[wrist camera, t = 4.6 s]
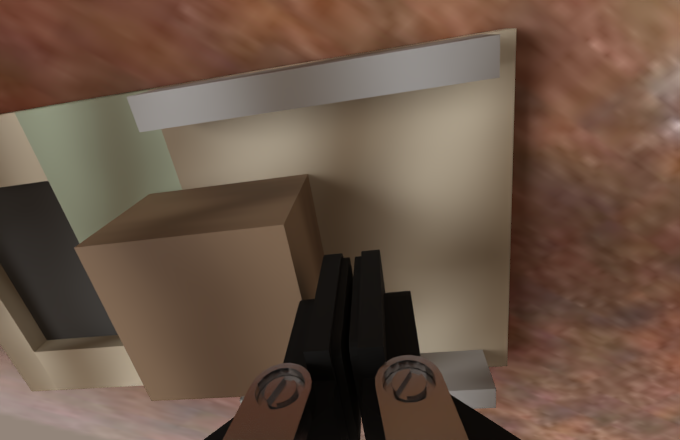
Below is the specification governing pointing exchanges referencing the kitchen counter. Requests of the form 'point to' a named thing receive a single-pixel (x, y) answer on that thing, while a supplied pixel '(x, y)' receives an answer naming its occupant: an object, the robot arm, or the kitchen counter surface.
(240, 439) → the robot arm
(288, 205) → the walnut block
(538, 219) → the kitchen counter surface
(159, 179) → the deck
